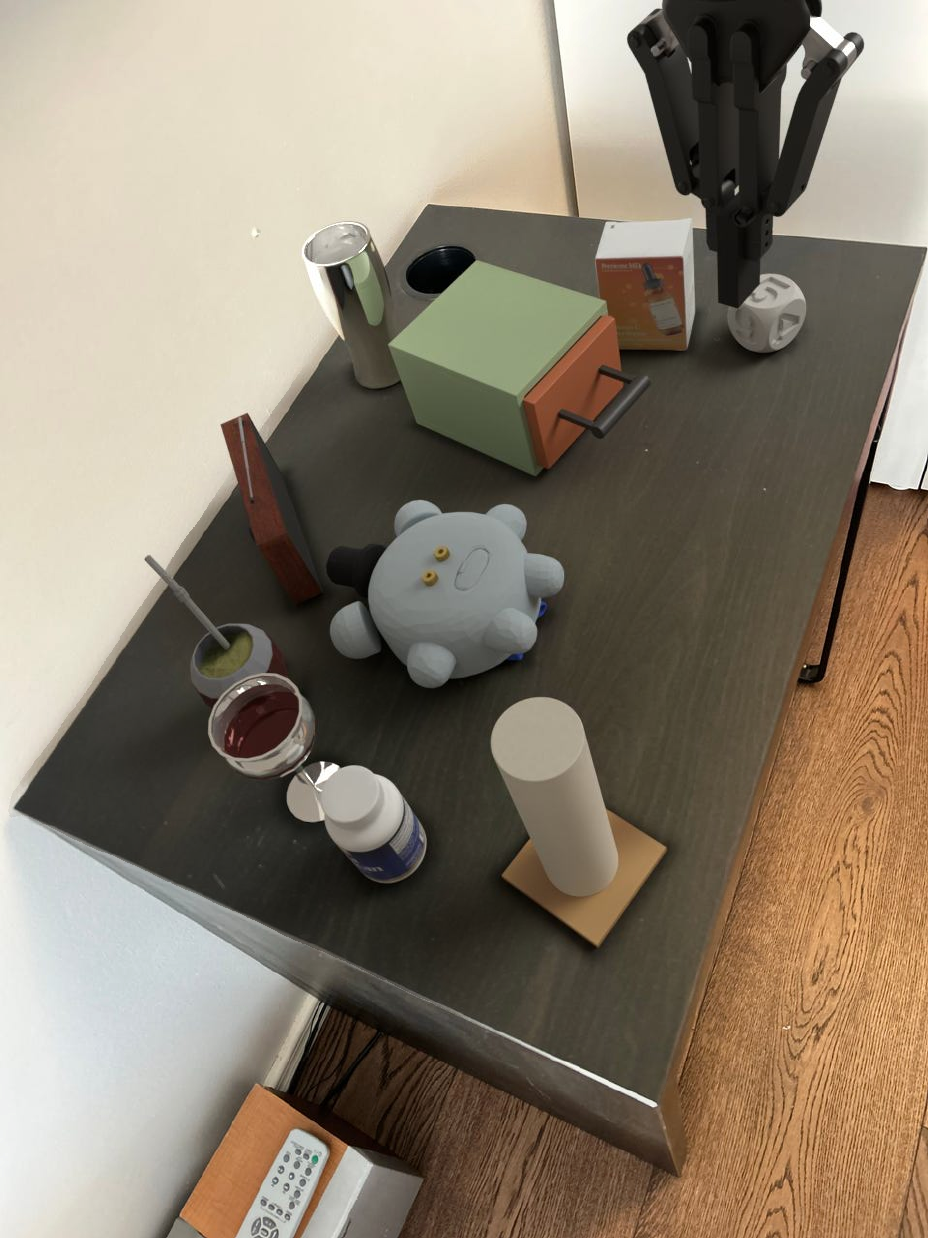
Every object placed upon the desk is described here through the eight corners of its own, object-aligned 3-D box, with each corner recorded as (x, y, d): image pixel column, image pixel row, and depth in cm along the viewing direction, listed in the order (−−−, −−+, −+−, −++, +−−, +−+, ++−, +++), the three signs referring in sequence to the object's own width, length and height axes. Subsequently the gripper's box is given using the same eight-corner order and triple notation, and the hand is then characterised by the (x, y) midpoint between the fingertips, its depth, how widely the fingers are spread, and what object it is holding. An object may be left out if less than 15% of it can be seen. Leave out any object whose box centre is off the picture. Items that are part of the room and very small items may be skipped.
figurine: (602, 556, 80) (403, 524, 90) (578, 484, 73) (367, 459, 83) (517, 734, 72) (311, 678, 82) (482, 672, 66) (263, 619, 76)
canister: (633, 851, 65) (603, 725, 51) (589, 912, 63) (545, 799, 49) (573, 812, 68) (528, 681, 53) (529, 869, 66) (471, 750, 52)
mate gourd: (293, 743, 77) (211, 640, 65) (204, 739, 79) (109, 639, 67) (315, 662, 81) (242, 552, 69) (230, 661, 83) (145, 553, 71)
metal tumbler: (391, 399, 97) (342, 272, 85) (338, 383, 101) (284, 260, 89) (429, 353, 100) (386, 225, 88) (376, 339, 103) (329, 214, 91)
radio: (253, 486, 95) (182, 369, 83) (282, 474, 95) (215, 355, 83) (297, 625, 84) (222, 513, 72) (329, 611, 84) (260, 496, 72)
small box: (604, 351, 94) (591, 258, 86) (615, 313, 97) (603, 219, 88) (688, 351, 91) (683, 256, 83) (696, 312, 94) (692, 215, 86)
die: (805, 331, 89) (809, 286, 85) (767, 361, 88) (768, 316, 84) (764, 310, 92) (765, 265, 88) (726, 338, 91) (725, 294, 87)
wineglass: (350, 739, 76) (294, 658, 66) (368, 814, 72) (311, 740, 62) (269, 769, 76) (201, 693, 66) (283, 846, 72) (213, 777, 62)
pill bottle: (344, 873, 70) (294, 819, 62) (374, 805, 72) (330, 746, 64) (410, 895, 67) (368, 842, 60) (439, 825, 70) (402, 765, 62)
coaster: (667, 850, 65) (666, 847, 65) (597, 948, 63) (596, 945, 62) (571, 789, 69) (570, 785, 69) (502, 878, 67) (501, 875, 66)
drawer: (669, 403, 87) (663, 333, 81) (593, 489, 83) (581, 423, 77) (510, 344, 96) (494, 278, 90) (436, 420, 93) (414, 356, 86)
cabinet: (617, 386, 91) (606, 300, 83) (535, 476, 87) (515, 395, 79) (497, 341, 99) (476, 259, 91) (416, 423, 94) (387, 344, 87)
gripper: (914, -158, 43) (861, 283, 62) (665, -162, 50) (685, 237, 69) (829, -76, 41) (800, 357, 60) (579, -93, 48) (624, 301, 66)
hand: (739, 292), depth 64 cm, fingers closed
